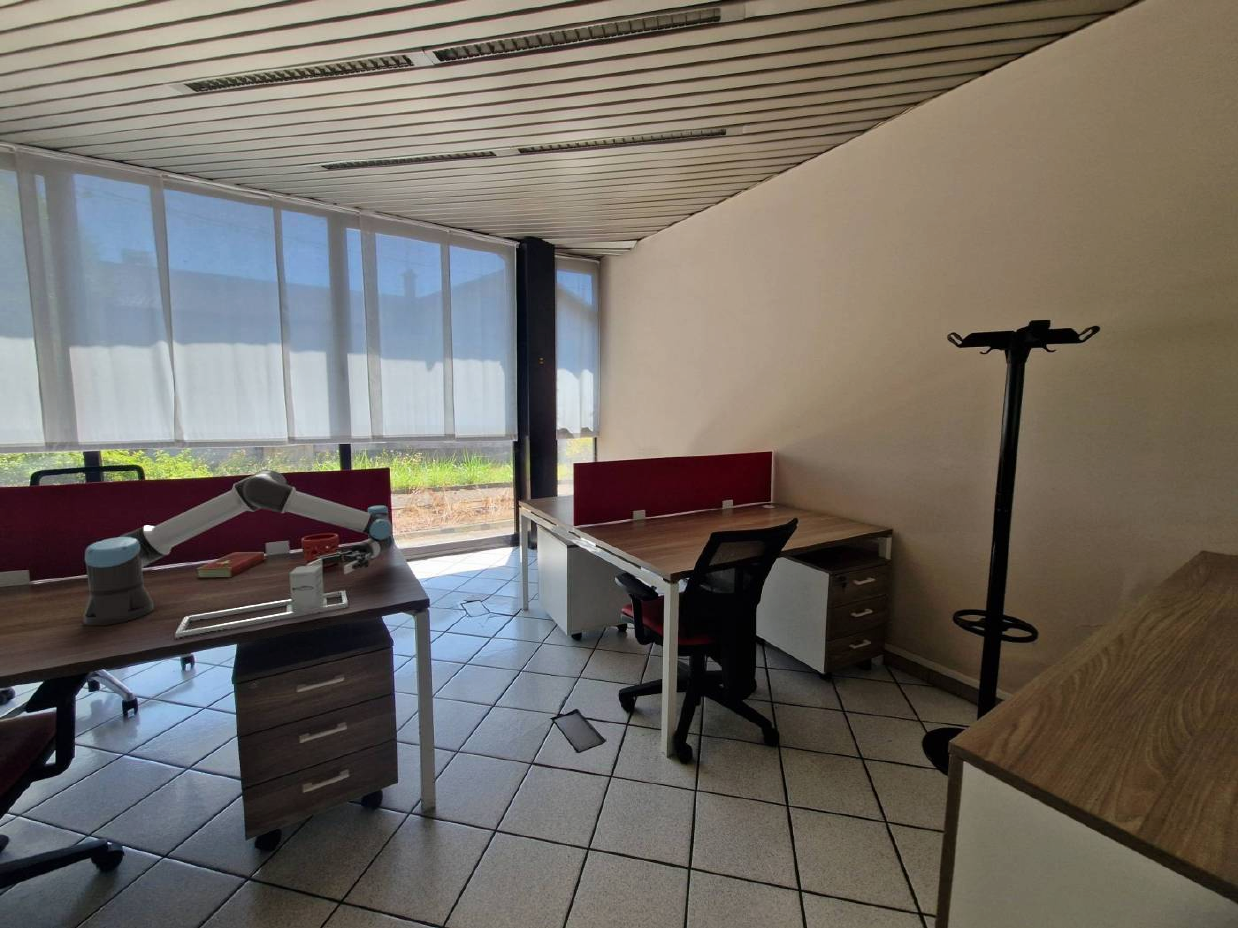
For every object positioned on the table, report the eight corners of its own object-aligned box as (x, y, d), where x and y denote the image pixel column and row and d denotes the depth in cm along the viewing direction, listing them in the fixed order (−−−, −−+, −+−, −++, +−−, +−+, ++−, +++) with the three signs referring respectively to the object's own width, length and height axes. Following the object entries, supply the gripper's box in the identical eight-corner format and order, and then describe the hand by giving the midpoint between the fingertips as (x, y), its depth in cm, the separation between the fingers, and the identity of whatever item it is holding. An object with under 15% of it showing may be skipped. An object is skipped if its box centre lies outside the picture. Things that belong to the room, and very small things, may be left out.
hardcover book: (265, 561, 207) (264, 551, 207) (231, 578, 187) (230, 567, 186) (234, 561, 206) (233, 551, 206) (197, 578, 185) (196, 568, 185)
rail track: (175, 638, 137) (174, 633, 137) (185, 621, 148) (184, 616, 148) (347, 607, 160) (347, 602, 159) (345, 594, 171) (345, 590, 170)
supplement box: (290, 611, 155) (288, 573, 153) (299, 602, 162) (297, 565, 160) (317, 609, 156) (314, 571, 155) (324, 600, 164) (322, 564, 162)
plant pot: (346, 563, 204) (344, 535, 203) (313, 571, 193) (311, 542, 192) (329, 557, 211) (328, 530, 210) (296, 565, 200) (294, 537, 199)
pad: (286, 616, 152) (286, 615, 152) (287, 605, 160) (287, 604, 160) (327, 609, 158) (327, 608, 158) (326, 598, 166) (326, 597, 166)
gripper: (395, 562, 188) (361, 581, 167) (334, 559, 190) (293, 577, 169) (394, 543, 187) (360, 560, 166) (333, 540, 190) (291, 556, 169)
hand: (326, 569), depth 168 cm, fingers open, 13 cm apart
